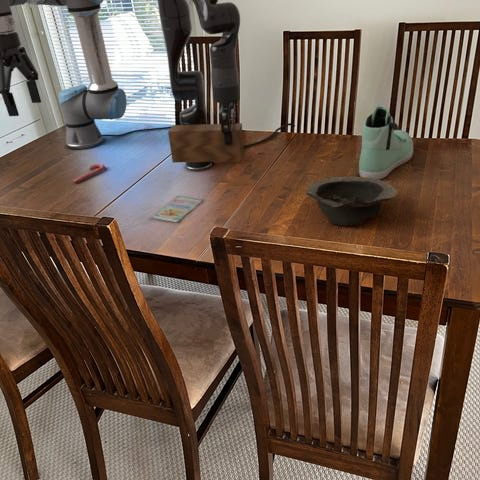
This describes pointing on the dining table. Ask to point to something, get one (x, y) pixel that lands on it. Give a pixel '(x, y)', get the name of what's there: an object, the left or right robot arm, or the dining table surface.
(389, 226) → the dining table surface
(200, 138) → the box
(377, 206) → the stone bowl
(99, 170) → the candy cane
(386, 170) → the sneaker
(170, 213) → the baking ingredient package
